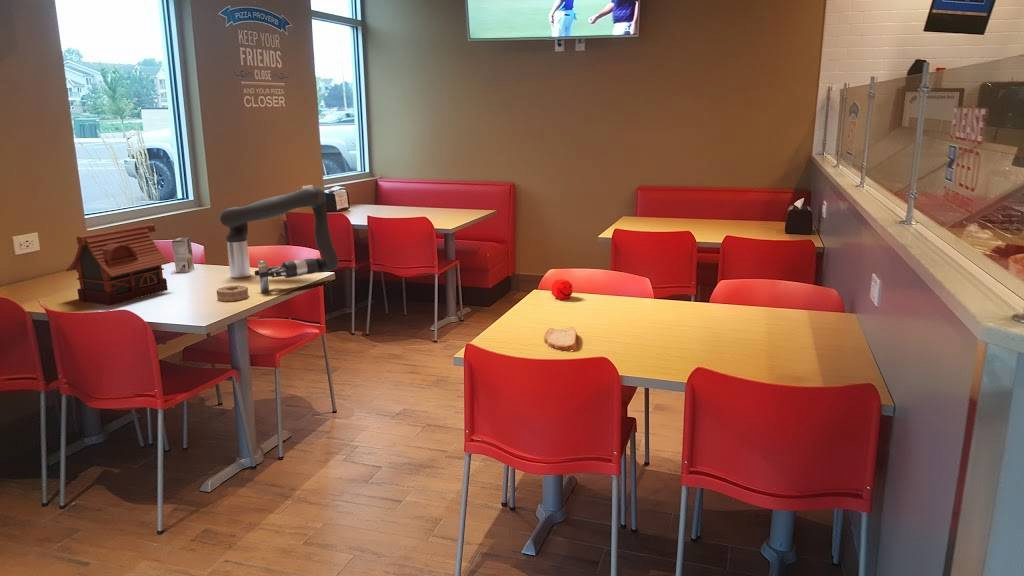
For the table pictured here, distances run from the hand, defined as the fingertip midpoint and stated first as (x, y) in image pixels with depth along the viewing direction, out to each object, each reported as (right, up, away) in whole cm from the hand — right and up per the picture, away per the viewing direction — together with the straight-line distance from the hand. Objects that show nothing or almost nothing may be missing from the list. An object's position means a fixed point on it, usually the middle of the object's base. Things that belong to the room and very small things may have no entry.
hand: (257, 274), depth 316 cm
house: (-58, -9, +2) cm, 59 cm away
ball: (+132, -10, -12) cm, 133 cm away
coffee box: (-53, +3, +49) cm, 72 cm away
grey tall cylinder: (+2, -8, +4) cm, 9 cm away
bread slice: (+129, -25, -67) cm, 148 cm away
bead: (-9, -10, -5) cm, 14 cm away
